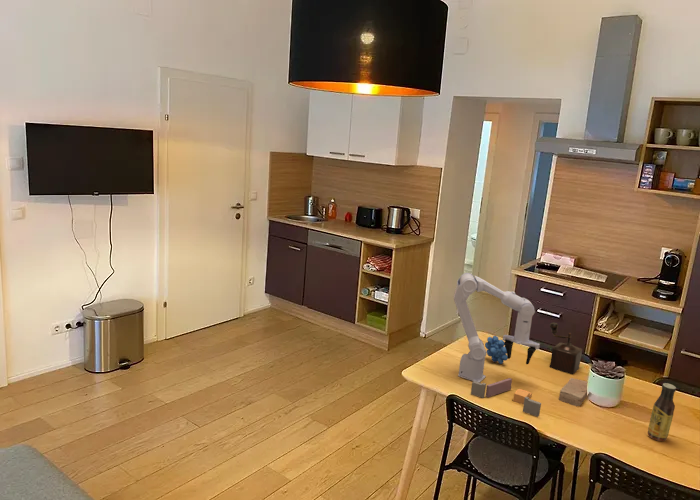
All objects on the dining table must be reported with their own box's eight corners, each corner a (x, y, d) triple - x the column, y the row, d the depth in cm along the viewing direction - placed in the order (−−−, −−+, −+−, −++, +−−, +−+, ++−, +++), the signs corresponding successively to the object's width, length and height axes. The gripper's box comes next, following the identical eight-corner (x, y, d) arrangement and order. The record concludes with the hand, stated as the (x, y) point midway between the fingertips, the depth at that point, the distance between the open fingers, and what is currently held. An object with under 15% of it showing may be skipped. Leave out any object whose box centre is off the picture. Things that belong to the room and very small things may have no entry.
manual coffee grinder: (580, 367, 245) (587, 329, 241) (572, 375, 236) (579, 336, 233) (546, 357, 254) (551, 320, 250) (537, 363, 246) (543, 326, 242)
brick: (579, 408, 208) (581, 396, 207) (557, 400, 212) (559, 389, 211) (590, 393, 221) (592, 383, 220) (569, 386, 225) (571, 376, 224)
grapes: (478, 359, 245) (481, 334, 243) (486, 356, 250) (489, 331, 247) (501, 369, 237) (504, 343, 235) (509, 365, 242) (512, 339, 239)
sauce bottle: (643, 432, 192) (653, 380, 188) (659, 432, 193) (670, 380, 189) (654, 442, 186) (665, 389, 182) (671, 443, 187) (683, 389, 182)
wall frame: (470, 394, 212) (472, 380, 211) (472, 392, 213) (473, 379, 212) (538, 416, 198) (540, 403, 197) (539, 415, 199) (541, 401, 198)
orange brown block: (512, 401, 209) (514, 393, 208) (520, 393, 216) (521, 385, 215) (524, 405, 206) (525, 397, 206) (531, 397, 214) (532, 389, 213)
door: (487, 397, 210) (489, 386, 209) (483, 394, 211) (484, 384, 210) (510, 389, 218) (512, 379, 217) (506, 387, 219) (507, 377, 218)
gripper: (501, 327, 221) (497, 358, 224) (538, 336, 213) (533, 369, 216) (507, 323, 227) (503, 353, 230) (543, 332, 219) (538, 363, 222)
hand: (518, 360), depth 224 cm, fingers open, 7 cm apart
